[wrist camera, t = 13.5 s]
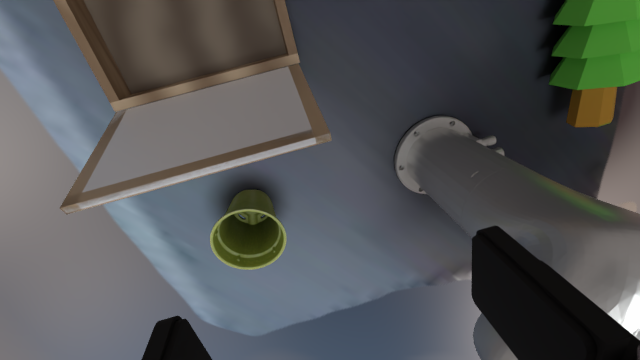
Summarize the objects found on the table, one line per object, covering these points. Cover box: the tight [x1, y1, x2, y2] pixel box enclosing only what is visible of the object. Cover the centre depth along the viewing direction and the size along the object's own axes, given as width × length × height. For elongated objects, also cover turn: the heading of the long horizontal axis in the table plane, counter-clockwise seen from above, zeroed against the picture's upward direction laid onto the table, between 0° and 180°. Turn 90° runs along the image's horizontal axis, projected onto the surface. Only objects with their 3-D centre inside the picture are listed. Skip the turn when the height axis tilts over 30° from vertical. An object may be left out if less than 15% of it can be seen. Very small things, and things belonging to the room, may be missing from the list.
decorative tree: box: [549, 0, 640, 127], centre depth 36 cm, size 11×12×30 cm
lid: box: [60, 64, 331, 214], centre depth 28 cm, size 21×15×1 cm
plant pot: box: [210, 190, 286, 270], centre depth 42 cm, size 9×9×9 cm
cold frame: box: [53, 0, 300, 112], centre depth 32 cm, size 21×15×4 cm
